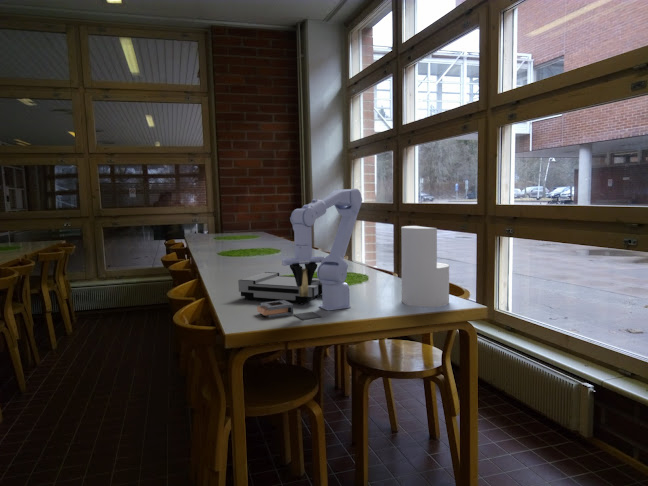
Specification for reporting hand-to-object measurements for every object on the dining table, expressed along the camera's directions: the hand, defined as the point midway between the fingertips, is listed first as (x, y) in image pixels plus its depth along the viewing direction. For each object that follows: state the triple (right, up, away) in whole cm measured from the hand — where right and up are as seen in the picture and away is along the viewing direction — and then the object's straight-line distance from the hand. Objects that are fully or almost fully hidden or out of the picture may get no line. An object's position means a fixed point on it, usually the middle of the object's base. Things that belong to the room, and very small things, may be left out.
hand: (303, 285), depth 153 cm
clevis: (-10, -10, +5) cm, 15 cm away
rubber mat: (+1, -10, +1) cm, 10 cm away
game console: (-8, -8, +32) cm, 34 cm away
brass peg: (0, -3, 0) cm, 3 cm away
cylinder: (+45, -8, +19) cm, 49 cm away
